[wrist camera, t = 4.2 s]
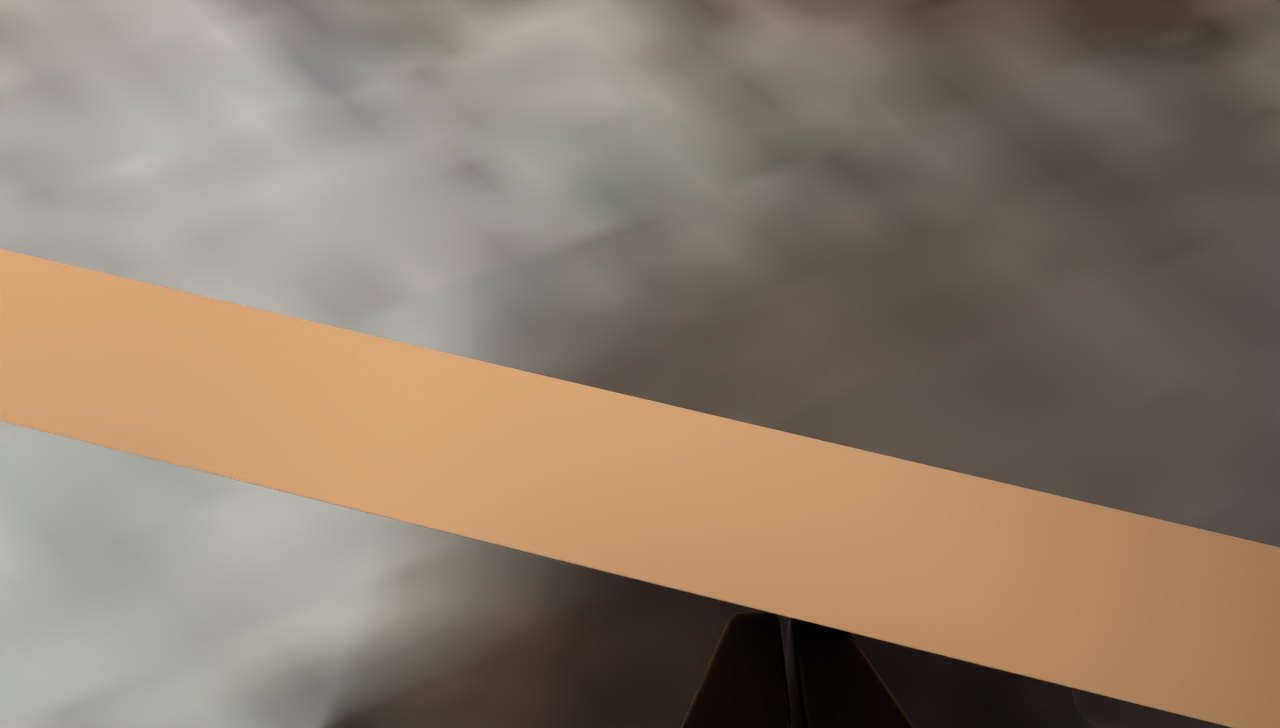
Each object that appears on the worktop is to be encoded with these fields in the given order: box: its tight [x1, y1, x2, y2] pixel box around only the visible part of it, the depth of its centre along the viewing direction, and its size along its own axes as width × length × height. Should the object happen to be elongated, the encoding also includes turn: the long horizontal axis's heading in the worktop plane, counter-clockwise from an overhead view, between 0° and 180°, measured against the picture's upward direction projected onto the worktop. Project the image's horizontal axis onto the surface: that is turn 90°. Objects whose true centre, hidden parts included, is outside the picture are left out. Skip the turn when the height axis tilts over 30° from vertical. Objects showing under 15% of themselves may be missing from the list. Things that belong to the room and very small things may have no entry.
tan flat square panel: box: [0, 249, 1280, 728], centre depth 12 cm, size 2×12×12 cm, turn 77°
